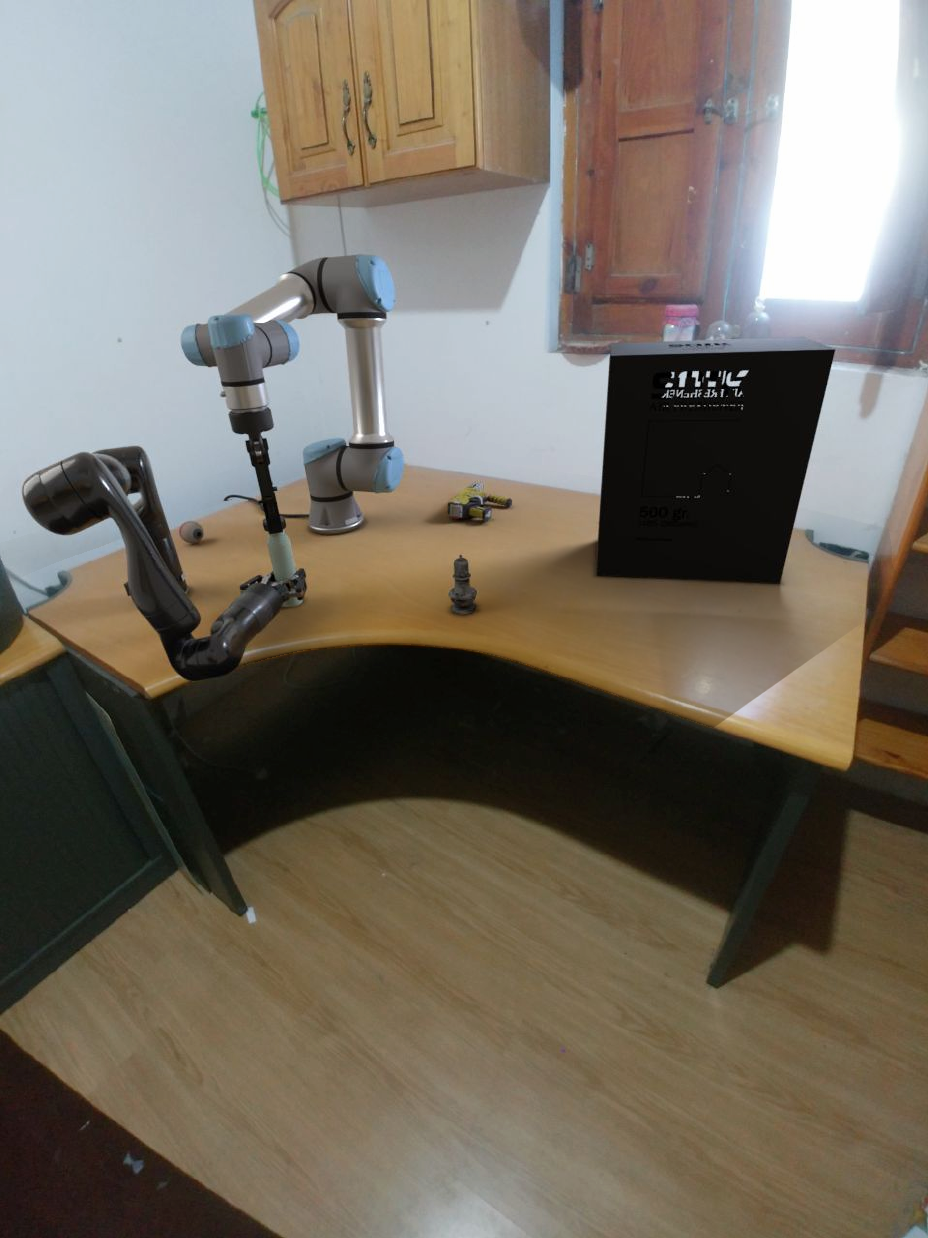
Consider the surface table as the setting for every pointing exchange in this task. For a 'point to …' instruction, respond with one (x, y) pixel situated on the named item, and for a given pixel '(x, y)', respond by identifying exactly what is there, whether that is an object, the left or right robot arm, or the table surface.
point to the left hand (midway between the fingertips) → (291, 571)
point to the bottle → (282, 561)
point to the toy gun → (474, 503)
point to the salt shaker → (462, 588)
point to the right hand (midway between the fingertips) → (275, 528)
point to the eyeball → (191, 532)
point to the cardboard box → (707, 456)
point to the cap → (281, 523)
